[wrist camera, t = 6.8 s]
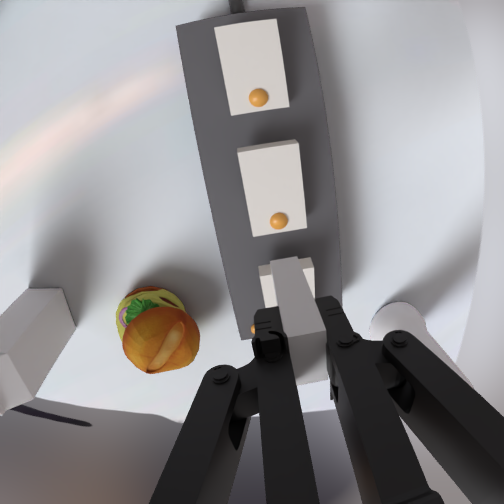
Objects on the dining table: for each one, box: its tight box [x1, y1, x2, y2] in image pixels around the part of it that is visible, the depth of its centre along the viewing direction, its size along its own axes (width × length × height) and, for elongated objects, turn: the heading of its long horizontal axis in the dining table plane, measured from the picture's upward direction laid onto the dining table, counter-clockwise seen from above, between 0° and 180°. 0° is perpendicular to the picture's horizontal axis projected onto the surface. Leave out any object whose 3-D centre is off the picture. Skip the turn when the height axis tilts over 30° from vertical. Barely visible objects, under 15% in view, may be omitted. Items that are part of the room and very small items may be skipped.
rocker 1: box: [214, 19, 289, 116], centre depth 23 cm, size 8×5×2 cm, turn 10°
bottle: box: [369, 302, 474, 389], centre depth 28 cm, size 8×8×30 cm
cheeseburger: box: [116, 286, 200, 374], centre depth 36 cm, size 10×11×10 cm
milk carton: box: [0, 288, 76, 416], centre depth 31 cm, size 7×7×19 cm
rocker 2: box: [237, 139, 307, 237], centre depth 27 cm, size 8×5×2 cm, turn 10°
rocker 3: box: [258, 257, 315, 308], centre depth 31 cm, size 8×5×2 cm, turn 10°
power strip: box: [176, 0, 342, 340], centre depth 30 cm, size 40×12×6 cm, turn 10°
